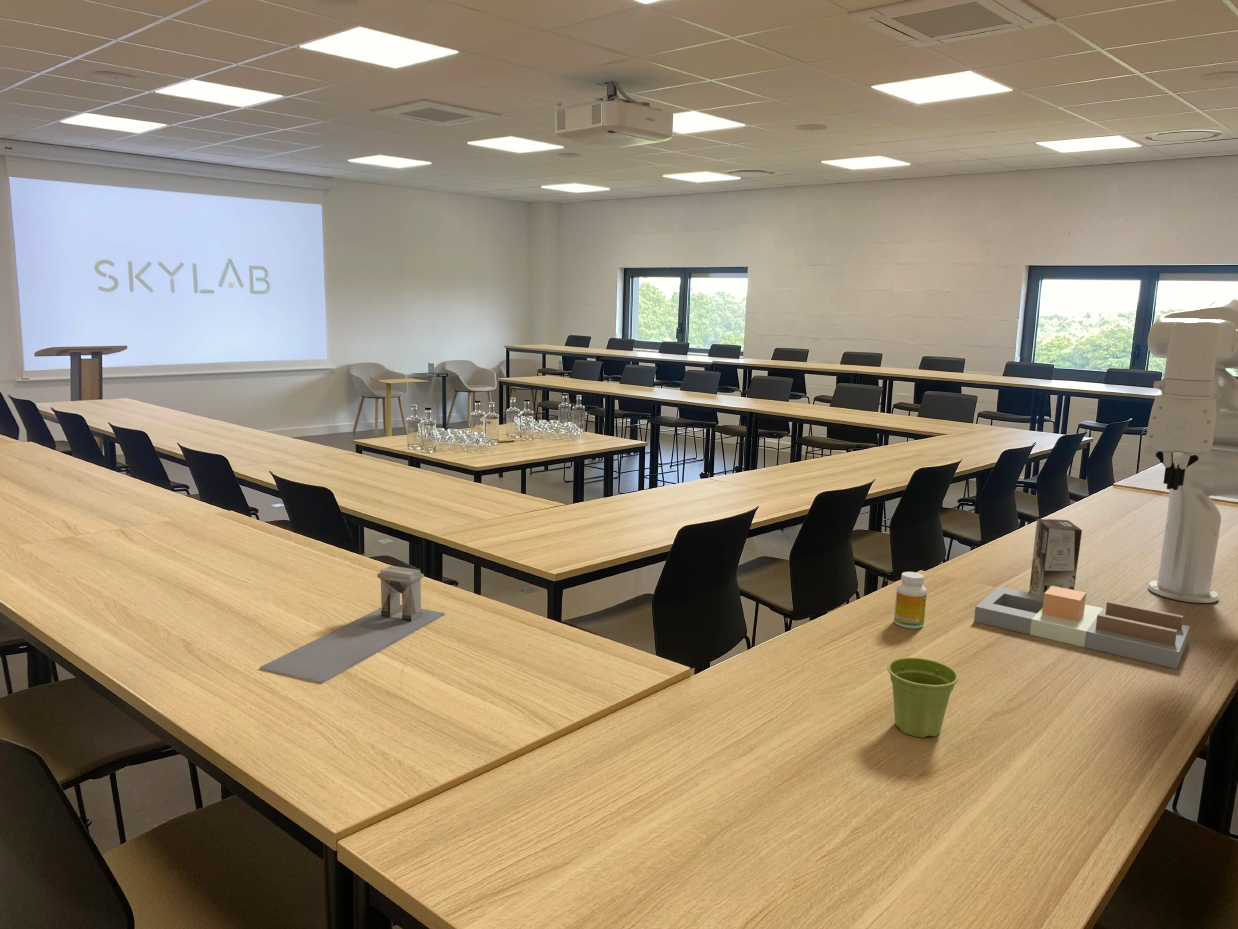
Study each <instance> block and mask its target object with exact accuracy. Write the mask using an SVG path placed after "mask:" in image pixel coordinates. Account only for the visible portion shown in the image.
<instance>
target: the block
mask: <svg viewBox="0 0 1238 929" xmlns="http://www.w3.org/2000/svg"><path fill="white" fill-rule="evenodd" d="M1086 598H1087V592H1085V591H1080V590H1075V589H1074V590H1071V589H1066V588H1061V587H1056V586H1051V587H1050V588H1049V589H1048V590H1047V591H1046V592H1045V593H1044V601H1043V609H1042V614H1046V615H1050V616H1055V617H1060V618H1064V619H1069V620H1073V621H1078V620H1079V619H1080V617H1081V616H1082V615H1083V613H1084V608H1085V605H1086Z"/></svg>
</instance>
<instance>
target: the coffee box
mask: <svg viewBox="0 0 1238 929" xmlns="http://www.w3.org/2000/svg"><path fill="white" fill-rule="evenodd" d="M1082 533H1083V529H1081V528H1080V527H1078V526H1077V525H1076V524H1074V523H1073V522H1072V521H1070V520H1067V519H1055V518H1054V519H1052V518H1049V519H1047V518H1037V519H1036V527H1035V535H1034V543H1033V554H1032V562H1031V574H1030V579H1029V580H1030V581H1029V590H1028V591H1029V593H1032V594H1037V595H1042V596H1044V593H1045V592H1046V591H1047V590H1048V589H1049V588H1050V587H1051V586H1056V587H1061V588H1066V589H1071V590H1075V586H1076V578H1077V571H1078V563H1079V555H1080V548H1081V540H1082Z"/></svg>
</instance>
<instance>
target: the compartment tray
mask: <svg viewBox="0 0 1238 929" xmlns="http://www.w3.org/2000/svg"><path fill="white" fill-rule="evenodd" d="M1043 601H1044V596H1042V595H1037V594H1032V593H1031V592H1027V591H1022V590H1017V589H1012V588H1007V587H1003V586H998V587H997V588H995V589H994V590H993V591H992V592H991V593H990V594H988V595H987V596H986V597H984V599H982V600H981V601H980V602H978V603H977V605H975V608H974V617H973V622H974V623H975V622H976V623H980V624H983V625H988V626H992V627H996V628H1001V629H1006V630H1009V631H1013V632H1019V633H1022V634H1027V635H1030V636H1035V637H1039V638H1043V639H1048V640H1052V641H1056V642H1059V643H1065V644H1069V645H1073V646H1077V647H1081V648H1086V649H1089V650H1094V651H1097V652H1098V651H1099V652H1103V653H1107V654H1109V655H1110V654H1112V655H1115V656H1120V657H1124V658H1128V659H1132V660H1136V661H1140V662H1146V663H1149V664H1153V665H1158V666H1163V667H1166V668H1170V669H1174V670H1177V669H1178V667H1179V664H1180V662H1181V660H1182V656H1183V654H1184V652H1185V649H1186V647H1187V644H1188V641H1189V635H1190V628H1191V626H1189V625H1185V624H1183V621H1184V615H1180V614H1175V613H1171V612H1165V611H1163V610H1162V611H1161V610H1157V609H1152V608H1146V607H1141V606H1137V605H1132V604H1126V603H1122V602H1116V601H1113V600H1107V602H1106V607H1105V608H1103V607H1100V606H1094V605H1089V604H1085V608H1084V613H1083V615H1082V616H1081V617H1080V619H1079V620H1078V621H1073V620H1069V619H1064V618H1060V617H1055V616H1050V615H1046V614H1042V609H1043Z"/></svg>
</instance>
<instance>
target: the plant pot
mask: <svg viewBox="0 0 1238 929" xmlns="http://www.w3.org/2000/svg"><path fill="white" fill-rule="evenodd" d="M886 670H887V672H888V673H889V676H890V681H891V683H892V684H891V685H892V696H893V697H892V698H893V711H894V712H893V713H894V723H895V726H896V727H898V729H899V730H900V731H901V732H903V733H904V734H906V735H909V736H912V737H916V738H925V737H928V736H931V737H933V738H934V737H936V736H938V735H939V734H940V733H941V730H942V726H943V724H944V723H943V722H944V718H945V715H946V711H947V710H946V709H947V706H948V703H949V699H950V695H951V693H952V691H953V690H954V687H955V685H956V684H957V683H958V681H959V678H960V677H959V673H958V672H957V671H956V670H955V669H954V668H953V667H951V666H949V665H948V664H945V663H942V662H940V661H937V660H932V659H930V658H929V659H928V658H922V657H910V656H909V657H900V658H896V659H893V660H891V661H889V663H888V664H887V667H886Z"/></svg>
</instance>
